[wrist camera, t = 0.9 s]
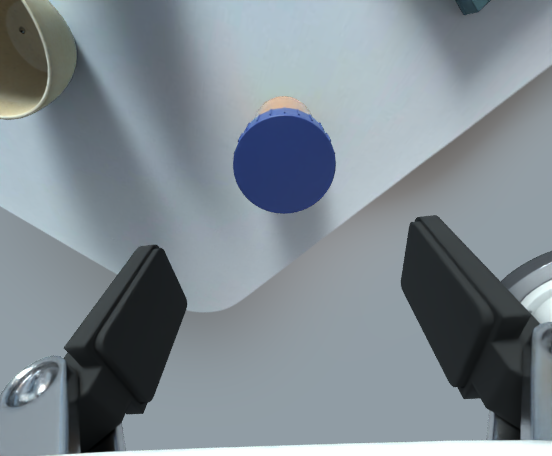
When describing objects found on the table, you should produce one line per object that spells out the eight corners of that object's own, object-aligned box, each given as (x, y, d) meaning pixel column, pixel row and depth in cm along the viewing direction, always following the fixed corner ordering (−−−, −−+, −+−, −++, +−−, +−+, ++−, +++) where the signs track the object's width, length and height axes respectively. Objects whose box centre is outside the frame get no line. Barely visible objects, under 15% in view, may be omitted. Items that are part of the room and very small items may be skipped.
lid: (329, 99, 18) (335, 106, 15) (331, 193, 21) (337, 208, 19) (227, 114, 18) (220, 122, 16) (247, 203, 22) (243, 219, 20)
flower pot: (41, 117, 26) (-30, 136, 20) (-53, -14, 21) (-186, -40, 15) (130, 85, 25) (81, 95, 19) (52, -66, 19) (-51, -118, 13)
